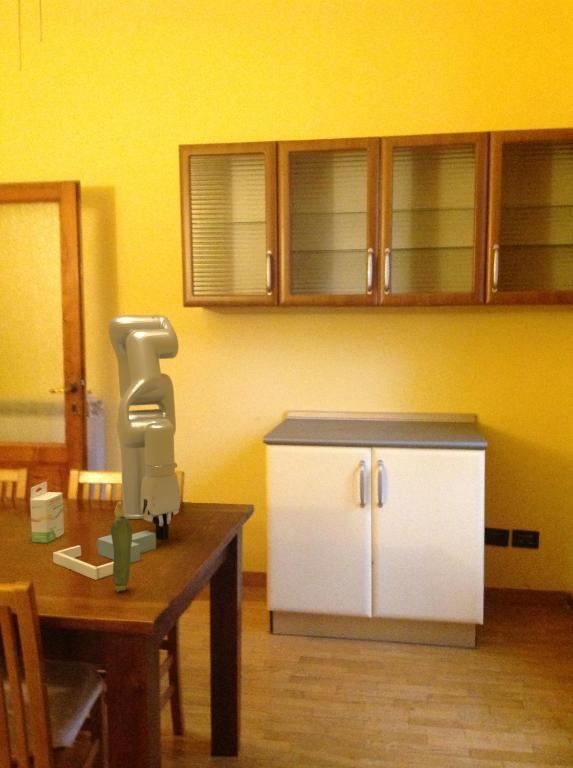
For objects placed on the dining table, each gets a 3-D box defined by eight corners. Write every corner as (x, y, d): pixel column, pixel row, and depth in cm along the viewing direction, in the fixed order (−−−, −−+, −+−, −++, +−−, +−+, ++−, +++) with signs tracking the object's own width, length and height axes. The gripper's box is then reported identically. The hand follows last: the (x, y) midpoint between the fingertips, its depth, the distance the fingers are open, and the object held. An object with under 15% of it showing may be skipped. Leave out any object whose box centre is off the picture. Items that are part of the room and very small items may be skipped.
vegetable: (115, 586, 152) (111, 497, 150) (135, 585, 152) (131, 496, 151) (111, 594, 148) (108, 502, 146) (132, 593, 148) (129, 502, 146)
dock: (79, 555, 173) (78, 545, 173) (121, 571, 162) (121, 560, 161) (53, 562, 168) (53, 552, 168) (95, 579, 156) (95, 569, 156)
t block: (137, 542, 183) (136, 527, 183) (165, 551, 175) (165, 536, 175) (97, 554, 174) (97, 538, 174) (126, 564, 166) (125, 548, 166)
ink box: (48, 543, 183) (45, 488, 182) (31, 542, 184) (28, 488, 183) (65, 533, 192) (62, 481, 190) (48, 532, 193) (46, 480, 191)
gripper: (173, 463, 188) (175, 529, 190) (127, 473, 177) (130, 543, 179) (191, 467, 183) (193, 534, 185) (145, 477, 172) (148, 549, 174)
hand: (162, 538), depth 182 cm, fingers closed
